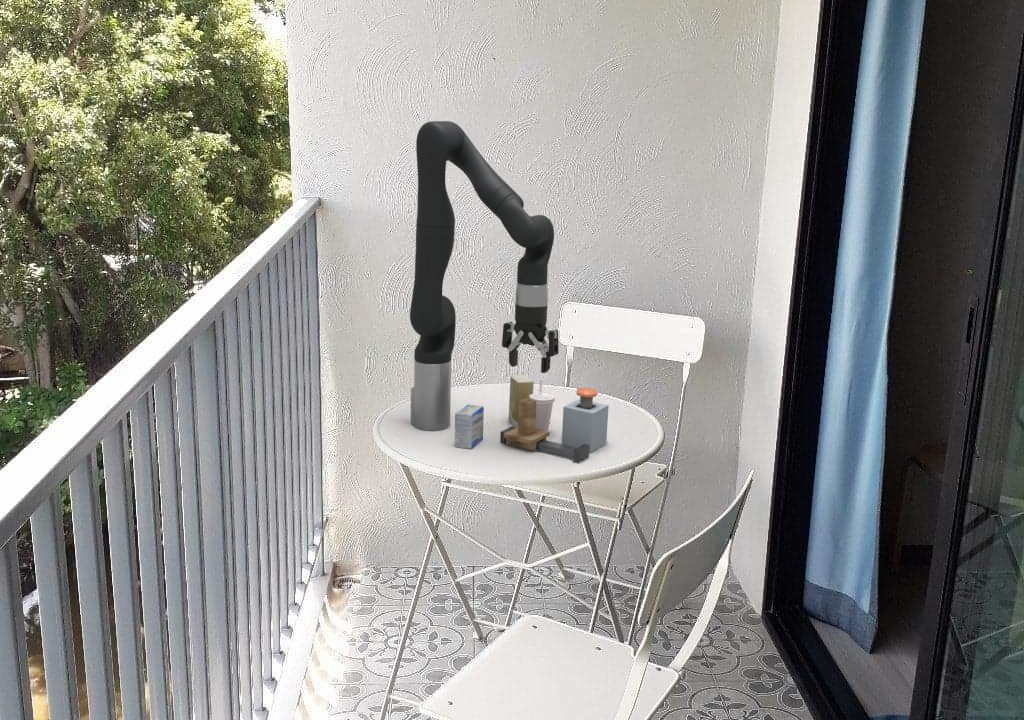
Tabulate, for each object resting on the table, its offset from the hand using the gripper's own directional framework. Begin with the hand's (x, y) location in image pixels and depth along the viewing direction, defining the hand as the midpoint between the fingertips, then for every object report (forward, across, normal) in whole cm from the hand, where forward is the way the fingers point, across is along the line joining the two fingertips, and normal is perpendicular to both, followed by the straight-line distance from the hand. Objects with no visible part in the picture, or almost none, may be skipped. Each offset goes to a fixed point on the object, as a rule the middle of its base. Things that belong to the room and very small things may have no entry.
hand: (529, 369), depth 237 cm
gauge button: (+12, +11, +9) cm, 19 cm away
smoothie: (+20, -2, +10) cm, 22 cm away
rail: (+19, +5, 0) cm, 20 cm away
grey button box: (+19, +11, +9) cm, 24 cm away
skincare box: (+20, -10, +13) cm, 26 cm away
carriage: (+19, 0, 0) cm, 19 cm away
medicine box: (+19, -12, -7) cm, 24 cm away
